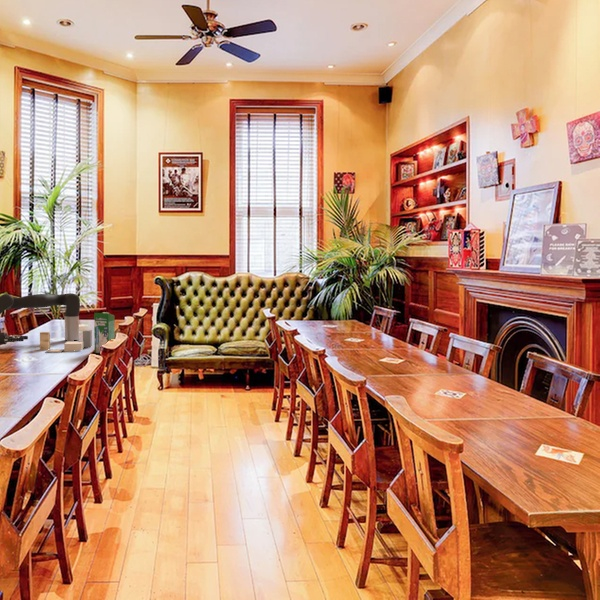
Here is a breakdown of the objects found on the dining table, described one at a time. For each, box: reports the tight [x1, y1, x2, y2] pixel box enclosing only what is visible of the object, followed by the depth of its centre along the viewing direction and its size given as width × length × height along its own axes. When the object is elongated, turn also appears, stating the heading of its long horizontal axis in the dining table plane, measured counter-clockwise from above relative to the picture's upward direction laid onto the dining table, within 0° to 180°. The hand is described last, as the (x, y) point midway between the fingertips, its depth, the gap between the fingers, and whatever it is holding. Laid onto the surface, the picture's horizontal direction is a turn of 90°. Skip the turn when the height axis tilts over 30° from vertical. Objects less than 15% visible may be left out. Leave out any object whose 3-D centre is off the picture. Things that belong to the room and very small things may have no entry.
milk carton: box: [93, 311, 116, 354], centre depth 343 cm, size 9×9×25 cm
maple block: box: [39, 331, 51, 351], centre depth 348 cm, size 5×5×11 cm
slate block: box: [82, 329, 93, 348], centre depth 361 cm, size 5×5×11 cm
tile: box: [44, 348, 65, 354], centre depth 341 cm, size 9×9×1 cm
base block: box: [63, 340, 84, 352], centre depth 349 cm, size 10×10×5 cm
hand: (25, 338), depth 346 cm, fingers open, 8 cm apart
